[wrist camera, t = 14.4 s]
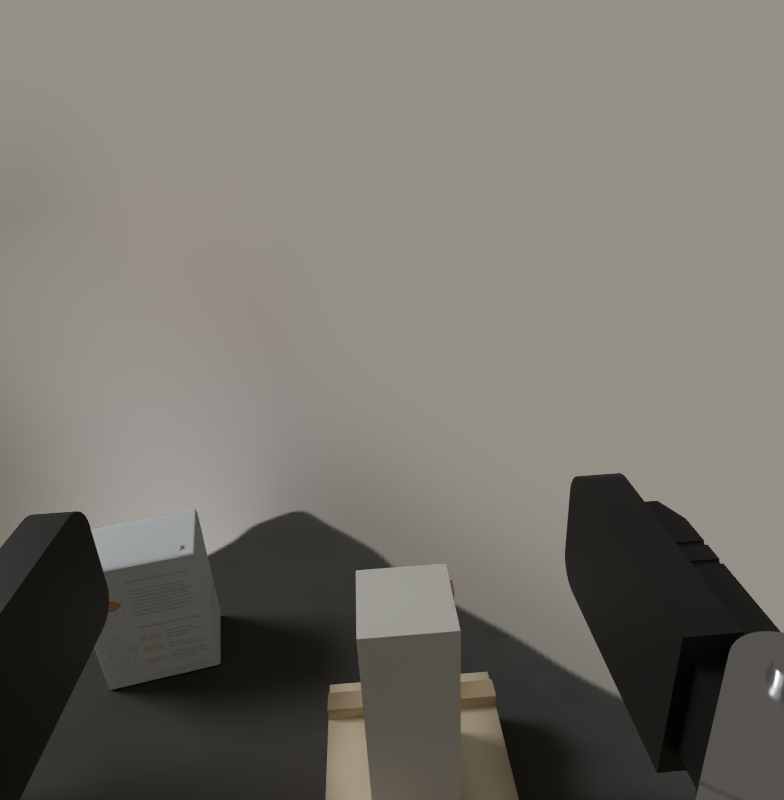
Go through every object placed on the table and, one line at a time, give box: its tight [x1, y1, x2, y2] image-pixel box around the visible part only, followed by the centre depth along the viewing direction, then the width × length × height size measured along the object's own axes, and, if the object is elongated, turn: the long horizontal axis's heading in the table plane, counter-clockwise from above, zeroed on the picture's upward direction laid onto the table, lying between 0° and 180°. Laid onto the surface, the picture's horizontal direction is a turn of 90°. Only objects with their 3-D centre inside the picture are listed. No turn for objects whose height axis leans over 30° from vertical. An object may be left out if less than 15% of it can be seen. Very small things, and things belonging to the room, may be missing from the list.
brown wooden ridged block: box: [326, 672, 519, 800], centre depth 35 cm, size 10×12×5 cm
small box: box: [91, 510, 221, 690], centre depth 46 cm, size 8×6×10 cm
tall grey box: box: [356, 564, 461, 800], centre depth 31 cm, size 5×4×12 cm
